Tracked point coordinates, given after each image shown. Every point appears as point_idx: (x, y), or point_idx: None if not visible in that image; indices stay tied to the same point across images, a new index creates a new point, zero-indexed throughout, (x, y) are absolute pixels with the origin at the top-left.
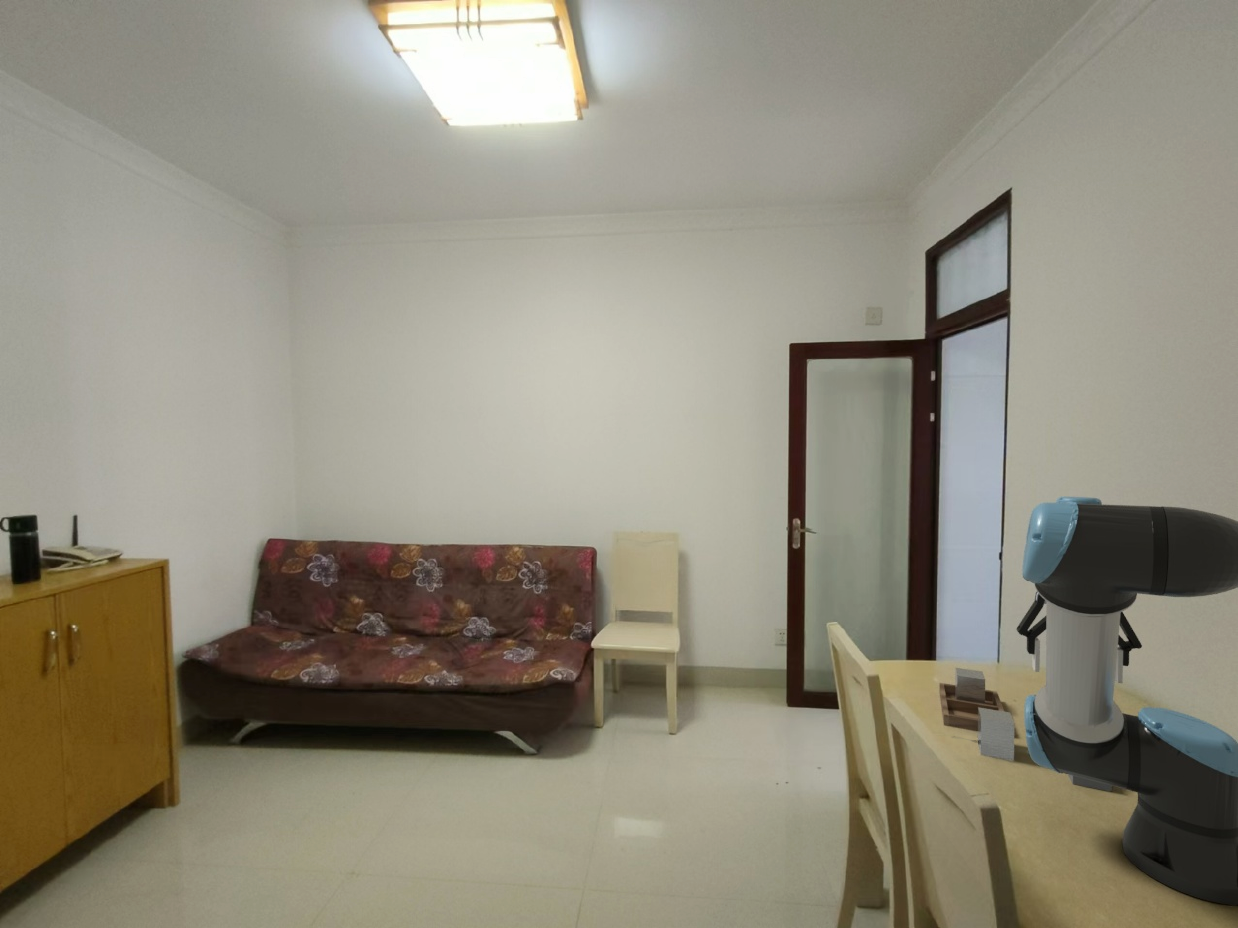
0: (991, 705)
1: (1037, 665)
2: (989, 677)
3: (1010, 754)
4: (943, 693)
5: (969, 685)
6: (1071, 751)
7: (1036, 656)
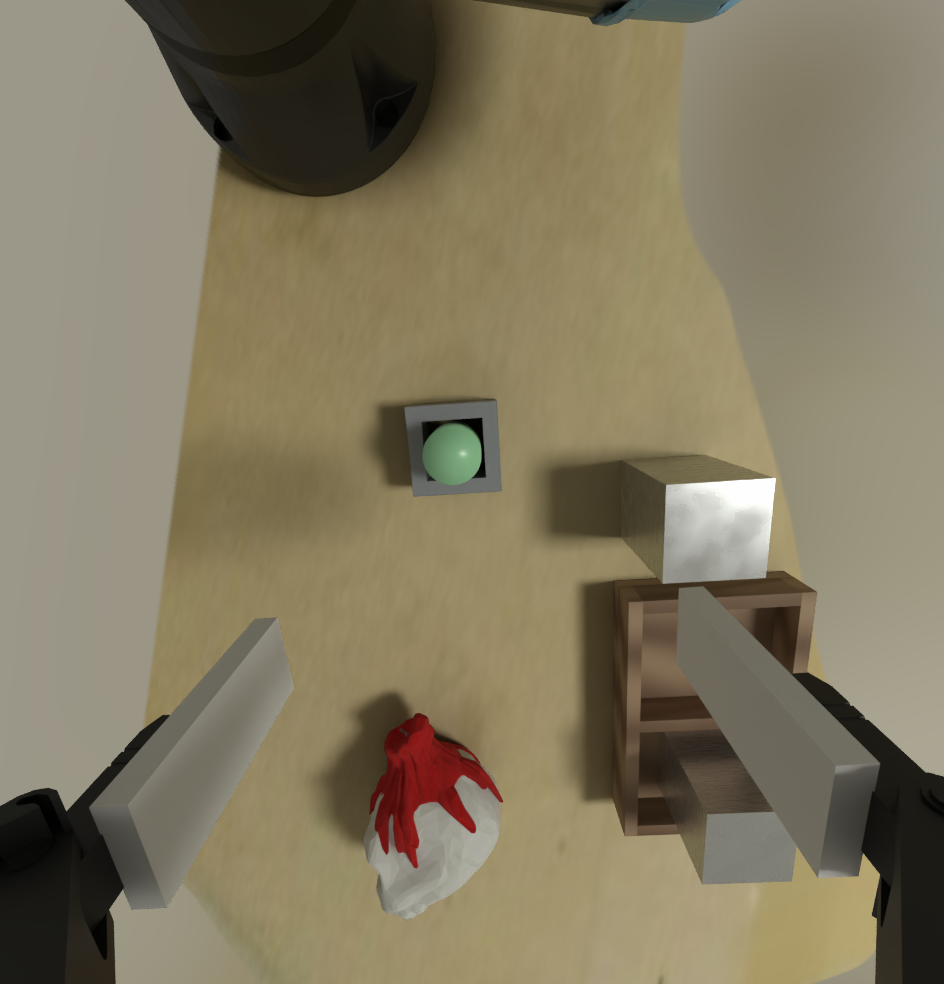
0: (657, 728)
1: (711, 608)
2: (604, 963)
3: (636, 463)
4: None
5: (741, 784)
6: None
7: (756, 647)
